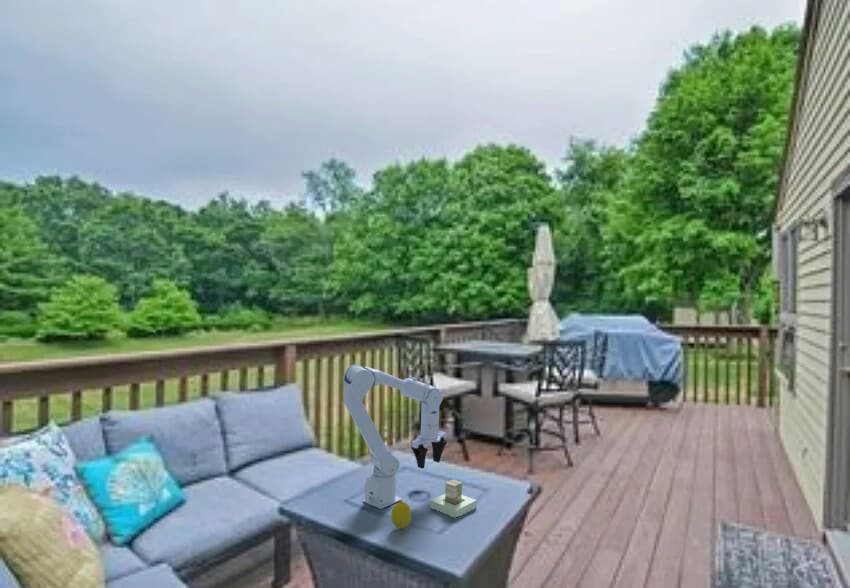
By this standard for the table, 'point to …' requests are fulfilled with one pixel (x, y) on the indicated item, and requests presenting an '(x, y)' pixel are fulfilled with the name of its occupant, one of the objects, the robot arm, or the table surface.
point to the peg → (453, 492)
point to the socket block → (452, 509)
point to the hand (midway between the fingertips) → (428, 464)
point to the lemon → (401, 515)
